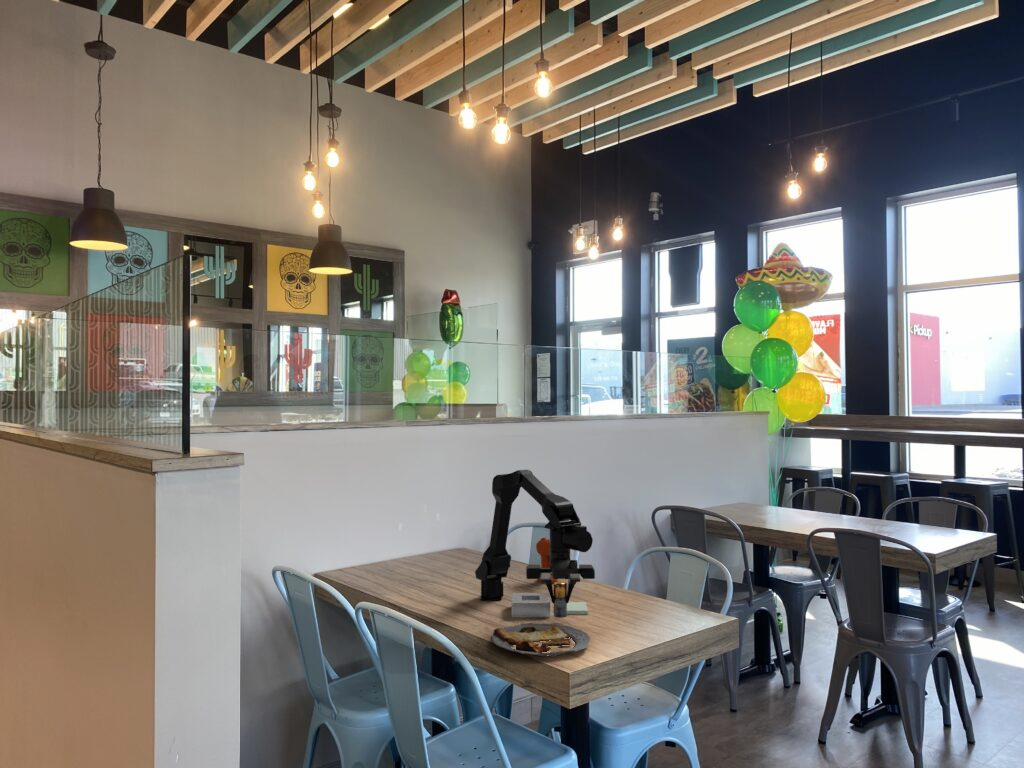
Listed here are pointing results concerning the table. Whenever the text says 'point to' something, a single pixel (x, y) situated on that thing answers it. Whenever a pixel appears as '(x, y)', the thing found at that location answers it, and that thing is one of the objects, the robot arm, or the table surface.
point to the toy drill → (544, 555)
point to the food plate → (539, 638)
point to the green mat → (577, 608)
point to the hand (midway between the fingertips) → (560, 602)
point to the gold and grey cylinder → (560, 599)
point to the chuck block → (530, 605)
